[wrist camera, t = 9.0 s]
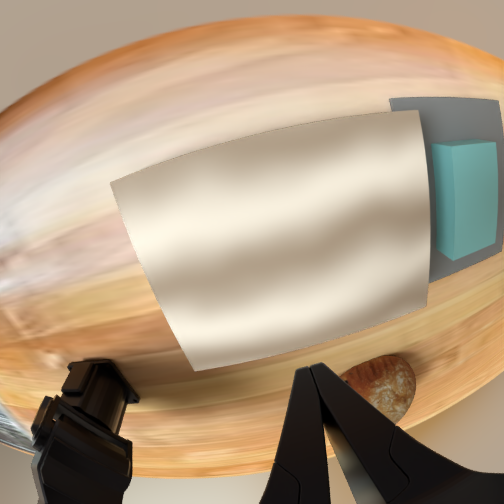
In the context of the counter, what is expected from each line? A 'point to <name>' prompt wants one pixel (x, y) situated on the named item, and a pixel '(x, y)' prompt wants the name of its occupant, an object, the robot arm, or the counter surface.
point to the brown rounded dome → (384, 384)
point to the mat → (454, 129)
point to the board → (285, 235)
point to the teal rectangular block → (465, 195)
